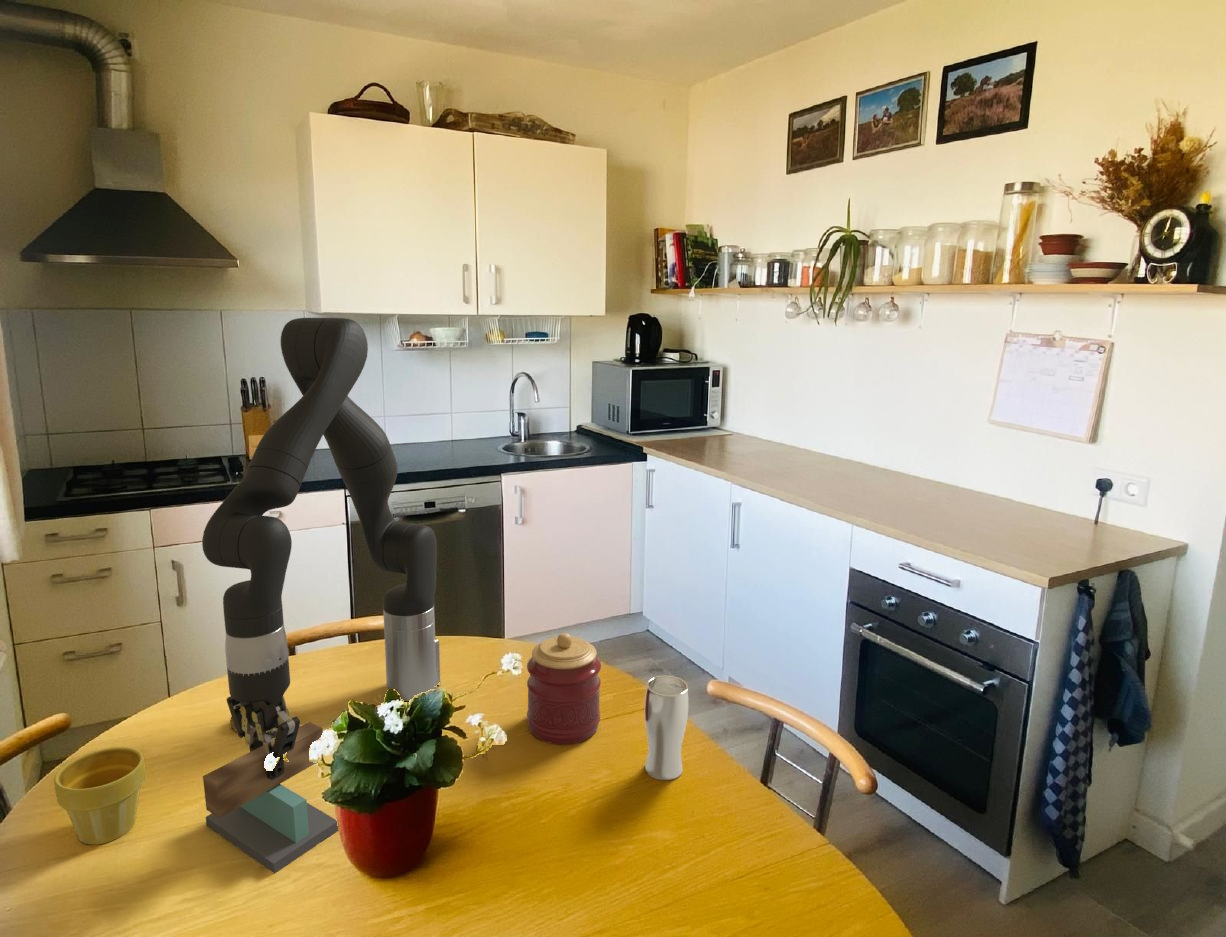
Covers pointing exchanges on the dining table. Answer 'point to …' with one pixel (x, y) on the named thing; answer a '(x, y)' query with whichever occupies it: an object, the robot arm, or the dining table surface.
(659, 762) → the beer glass
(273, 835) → the ridge stand
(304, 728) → the walnut beam
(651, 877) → the dining table surface
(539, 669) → the canister
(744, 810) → the dining table surface
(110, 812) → the plant pot
